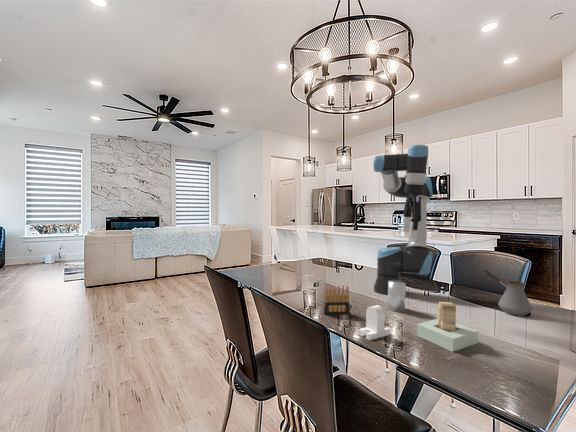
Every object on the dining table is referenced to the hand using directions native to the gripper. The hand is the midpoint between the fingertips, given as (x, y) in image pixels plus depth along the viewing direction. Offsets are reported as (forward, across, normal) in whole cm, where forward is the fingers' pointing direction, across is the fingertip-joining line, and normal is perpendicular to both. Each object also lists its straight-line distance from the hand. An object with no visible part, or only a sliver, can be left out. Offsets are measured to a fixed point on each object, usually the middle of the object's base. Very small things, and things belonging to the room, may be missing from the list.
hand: (409, 234), depth 122 cm
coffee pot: (+32, -10, +45) cm, 56 cm away
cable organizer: (+32, +27, -15) cm, 44 cm away
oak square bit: (+30, +27, +9) cm, 41 cm away
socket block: (+30, +27, +9) cm, 41 cm away
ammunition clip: (+34, +10, -28) cm, 45 cm away
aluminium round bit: (+34, -1, -2) cm, 34 cm away
